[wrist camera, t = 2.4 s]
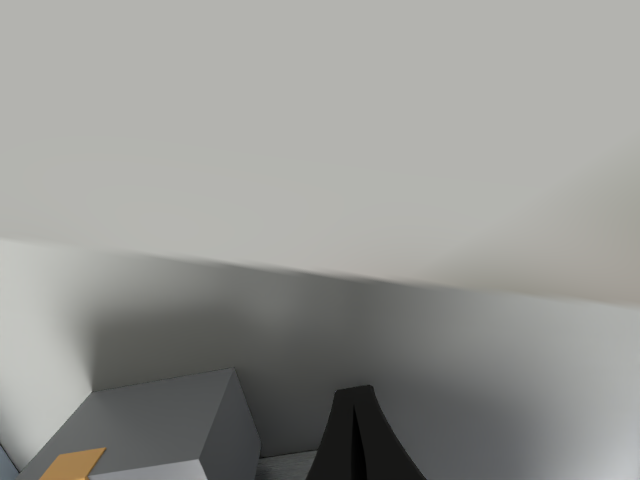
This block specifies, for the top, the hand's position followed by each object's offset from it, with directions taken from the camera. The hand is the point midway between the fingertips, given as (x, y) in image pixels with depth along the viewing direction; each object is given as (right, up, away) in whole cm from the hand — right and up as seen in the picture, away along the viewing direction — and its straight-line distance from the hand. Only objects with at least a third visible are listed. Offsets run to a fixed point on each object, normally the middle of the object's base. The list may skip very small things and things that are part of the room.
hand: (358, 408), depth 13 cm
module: (-7, -1, +2) cm, 7 cm away
